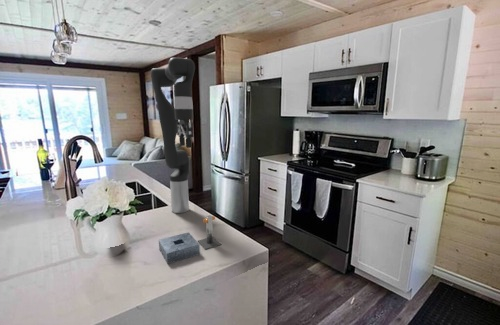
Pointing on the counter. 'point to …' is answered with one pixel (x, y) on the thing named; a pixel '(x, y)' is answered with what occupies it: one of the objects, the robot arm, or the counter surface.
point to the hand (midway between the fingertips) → (185, 146)
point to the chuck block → (178, 247)
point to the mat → (206, 245)
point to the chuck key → (209, 228)
